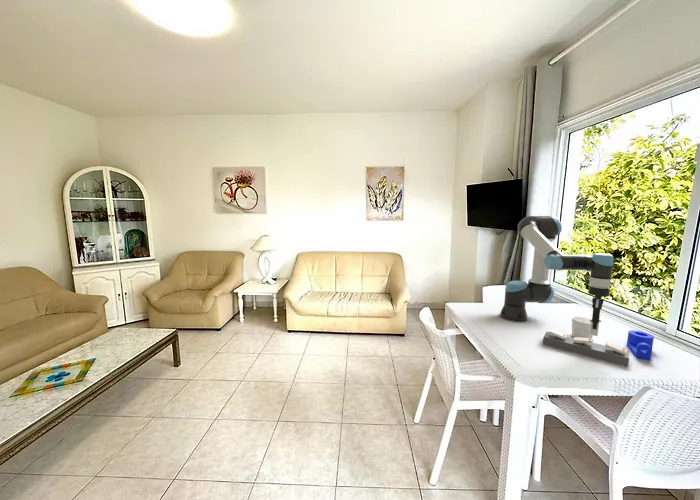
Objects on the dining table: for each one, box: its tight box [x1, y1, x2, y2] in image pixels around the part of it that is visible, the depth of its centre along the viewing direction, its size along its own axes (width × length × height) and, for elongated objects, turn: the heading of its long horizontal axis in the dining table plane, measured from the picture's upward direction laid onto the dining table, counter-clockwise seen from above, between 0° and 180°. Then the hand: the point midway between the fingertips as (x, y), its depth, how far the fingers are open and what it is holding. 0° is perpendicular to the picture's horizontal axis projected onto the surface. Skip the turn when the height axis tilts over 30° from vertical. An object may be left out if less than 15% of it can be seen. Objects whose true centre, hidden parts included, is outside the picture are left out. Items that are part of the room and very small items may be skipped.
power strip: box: [542, 331, 630, 367], centre depth 143 cm, size 32×9×5 cm, turn 48°
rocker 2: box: [573, 337, 594, 344], centre depth 143 cm, size 7×4×1 cm, turn 48°
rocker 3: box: [605, 341, 627, 355], centre depth 135 cm, size 7×4×1 cm, turn 48°
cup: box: [571, 316, 594, 338], centre depth 159 cm, size 10×10×10 cm
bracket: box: [626, 329, 655, 362], centre depth 143 cm, size 20×9×8 cm, turn 141°
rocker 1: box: [548, 328, 568, 340], centre depth 150 cm, size 7×4×1 cm, turn 48°
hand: (593, 334), depth 140 cm, fingers closed
